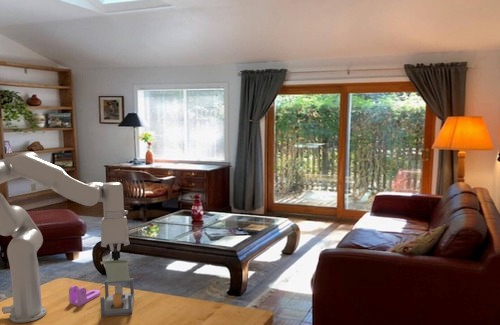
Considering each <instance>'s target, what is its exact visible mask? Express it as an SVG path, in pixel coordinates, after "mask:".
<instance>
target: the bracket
mask: <svg viewBox="0 0 500 325" xmlns="http://www.w3.org/2000/svg"><path fill="white" fill-rule="evenodd" d="M100 295H101V290H100V289H91V290H90V289H89V290H88V291H87V288H86V287H83V286H80V287H78V285H74V284H73V285H71V286H70V287H69V288H68V296H69V297H68V300H69V304H70V305H74V306H78V307H80V306H83V305H85V304H86V303H89V302H90V301H92V300H94V299H95V298H98V297H99V296H100Z"/></svg>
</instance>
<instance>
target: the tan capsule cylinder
mask: <svg viewBox="0 0 500 325" xmlns="http://www.w3.org/2000/svg"><path fill="white" fill-rule="evenodd" d="M113 294H114V295H113ZM113 294H112V295H113V305H114V309H118V308H122V302H121V294H119V293H117V294H115V293H113Z"/></svg>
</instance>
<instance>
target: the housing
mask: <svg viewBox="0 0 500 325" xmlns="http://www.w3.org/2000/svg"><path fill="white" fill-rule="evenodd" d="M129 278H130V282H129V284H130V292H126V293H124V292H123V289H124V288H123V286H122V285H115V286H114V293H113V294H109V283H108V279H107V280H104V294H105V295H104V296H100V298H99V301H100V315H101V318H103V317H104V318H106V317H114V316H116V317H117V316H125V315H132V314H133V309H134V308H133V307H134V301H135V290H134V278H131V277H129ZM117 293H119V294H121V302H122V308H118V309H114V305H113V295H114V294H117Z"/></svg>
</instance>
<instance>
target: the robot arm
mask: <svg viewBox="0 0 500 325" xmlns="http://www.w3.org/2000/svg"><path fill="white" fill-rule="evenodd" d="M21 177H22V178H24V179H27V180H29V181H31V182H34V183H37V184H39V185H42V186H44V187H46V188H48V189H51V190H52V191H54V192H55V193H57V194H58V195H60V196H61V197H64V198H66V199H67V200H70V201H73V202H74V203H77V204H80V205H83V206H88V207H92V206H95V205H96V204H97V203H99V202H100V201H102V204H103V206H102V207H103V217H102V218H101V226H100V228H101V229H100V234H101V235H100V241H101V242H100V247H102V248H107V249H108V250H109V251H110V252H111V259H112V260H113V261H115V260H120V259H121V250H122V249H123V248H124V247H126V246H128V245H129V246H130V244H131V243H130V239H129V238H130V232H129V224H128V223H129V222H128V219H127V216H126V215H128V213H129V210H127V209H126V210H125V206H124V186H123V183H122V182H119V181H109V182H98V181H90V182H88V183H84V182H82V181H79V180H77V179H75V178H73V177H71V176H70V175H69V174H67V172H66V171H65V169H63V168H62V167H61V166H59V165H56V164H53V163H50V162H48V161H45V160H43V159H42V158H41V157H40V156H39V154H38V153H36V152H33V151H24V152H21V153H19V154H16V155H13V156H12V155H11V156H10V157H6V158H2V159H0V185H1V184H3V183H5V182H9V181H11V180H15V179H18V178H21ZM0 236H3V237H8V236H11V237H12V239H11V240H10V241H9V243H8V245H7V249H6V255H7V259H8V263H9V269H10V278H11V279H10V280H11V290H12V304H11V305H9V306H8V305H6V306H5V305H4V306H2V307H1V312H2V313H3V314H4V315H5V314H6V315H7V314H9V320H10V322H13V323H17V324H18V323H19V324H23V323H24V324H25V323H29V322H34V321H37V320H39V319H42V317H44V316H45V315H46V314H47V308H46V307H45V306H44V305H43V304H42V291H41V278H40V277H41V276H40V267H39V266H40V265H39V261H38V255H37V253H38V251H39V249H40V248H42V245H43V243H44V238H43V235H42V232H41V230H40V229H39V227H38V226H37V225H36V223H35V222H34V220H33V219H32V218H31V216H30V214H29V213H28V212H27V210H25V209H24V208H23V207H21V206H19V205H15V204H13V205H10V203H9V202H8V200H7V199H6V197H5V196H4V195H3V193H2V192H0ZM115 245H116V248H115Z"/></svg>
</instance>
